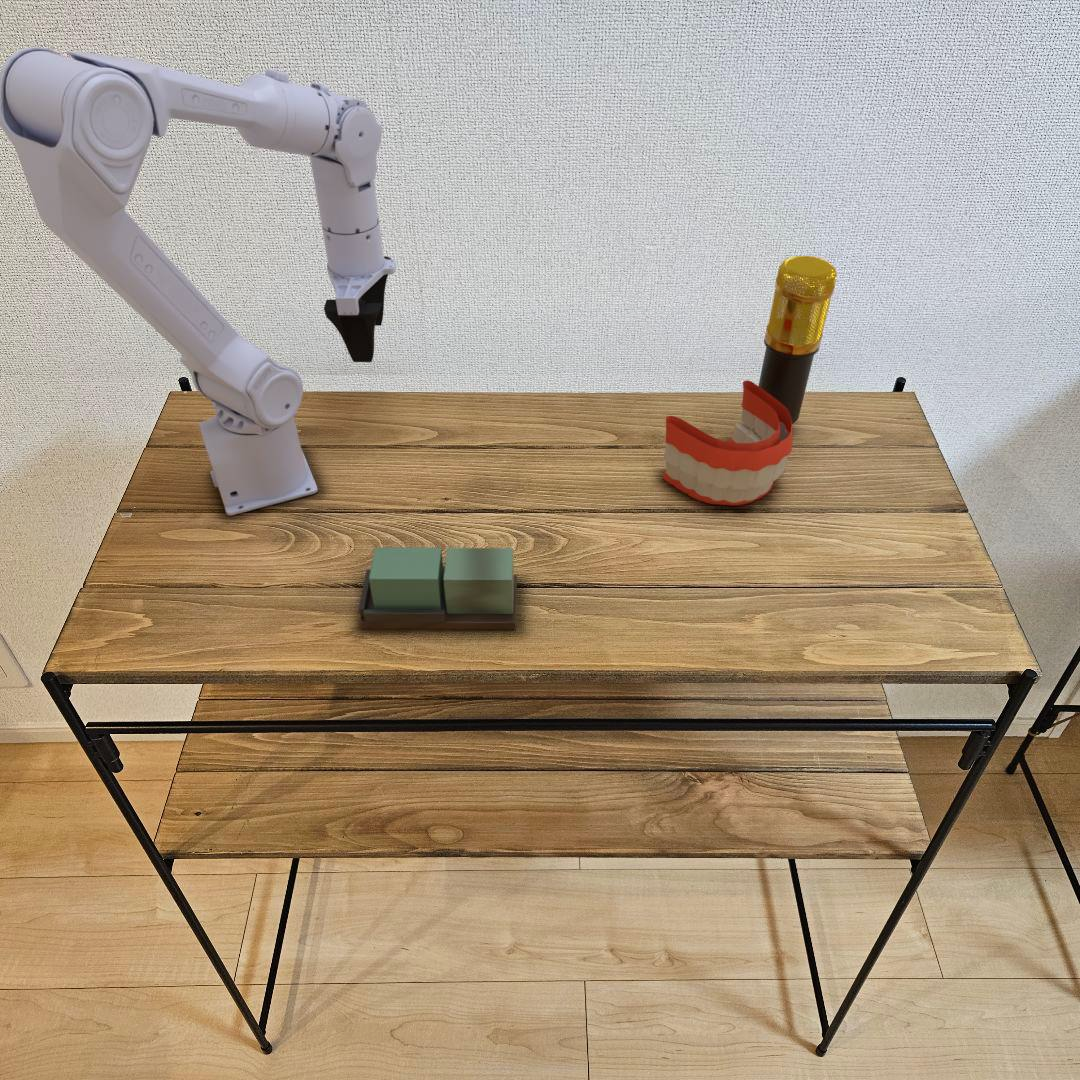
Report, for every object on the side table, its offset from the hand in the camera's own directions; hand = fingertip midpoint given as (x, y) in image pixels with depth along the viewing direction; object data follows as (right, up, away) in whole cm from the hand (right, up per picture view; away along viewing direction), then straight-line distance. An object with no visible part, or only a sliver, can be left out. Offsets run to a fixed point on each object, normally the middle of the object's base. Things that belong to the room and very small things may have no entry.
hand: (368, 341), depth 98 cm
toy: (+40, -16, -3) cm, 43 cm away
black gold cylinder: (+50, -9, +5) cm, 51 cm away
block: (+7, -27, -17) cm, 33 cm away
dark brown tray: (+10, -28, -16) cm, 34 cm away
